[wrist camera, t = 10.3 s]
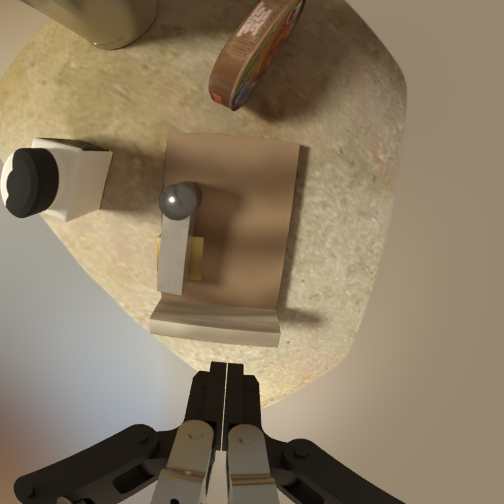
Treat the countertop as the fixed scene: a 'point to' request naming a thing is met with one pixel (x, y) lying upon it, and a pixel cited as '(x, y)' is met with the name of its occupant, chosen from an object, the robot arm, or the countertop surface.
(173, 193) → the swing bar
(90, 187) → the medicine bottle
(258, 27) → the tin
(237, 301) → the board
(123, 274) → the countertop surface
